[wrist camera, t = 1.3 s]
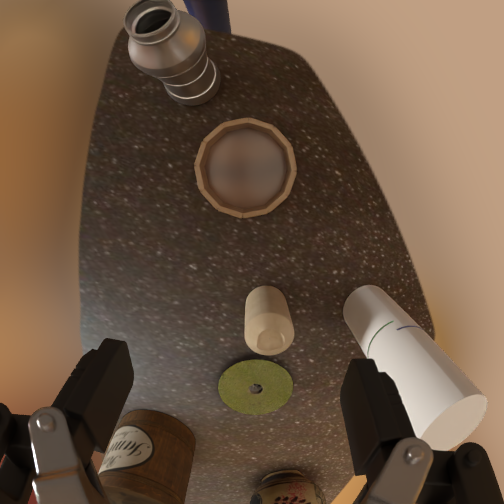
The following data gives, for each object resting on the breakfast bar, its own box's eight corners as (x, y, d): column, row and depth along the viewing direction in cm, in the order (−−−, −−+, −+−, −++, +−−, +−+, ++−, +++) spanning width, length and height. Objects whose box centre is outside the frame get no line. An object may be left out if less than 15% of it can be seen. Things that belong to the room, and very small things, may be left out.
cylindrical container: (387, 324, 43) (474, 437, 19) (343, 334, 43) (410, 465, 19) (388, 280, 41) (496, 382, 17) (341, 289, 41) (427, 413, 17)
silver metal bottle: (215, 113, 35) (181, 58, 16) (164, 104, 35) (91, 53, 16) (228, 67, 34) (209, -17, 15) (177, 60, 33) (122, -18, 14)
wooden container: (143, 396, 46) (102, 497, 25) (211, 438, 49) (199, 539, 28) (108, 429, 49) (71, 513, 28) (169, 465, 52) (150, 550, 30)
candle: (254, 327, 43) (255, 368, 33) (239, 293, 41) (236, 329, 32) (291, 313, 42) (302, 353, 33) (278, 279, 41) (286, 311, 31)
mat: (204, 382, 45) (203, 390, 43) (253, 339, 43) (253, 346, 41) (257, 416, 47) (257, 424, 45) (306, 378, 45) (308, 386, 43)
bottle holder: (188, 132, 36) (180, 127, 31) (284, 113, 36) (289, 104, 31) (209, 224, 39) (203, 232, 34) (302, 206, 39) (310, 211, 34)
